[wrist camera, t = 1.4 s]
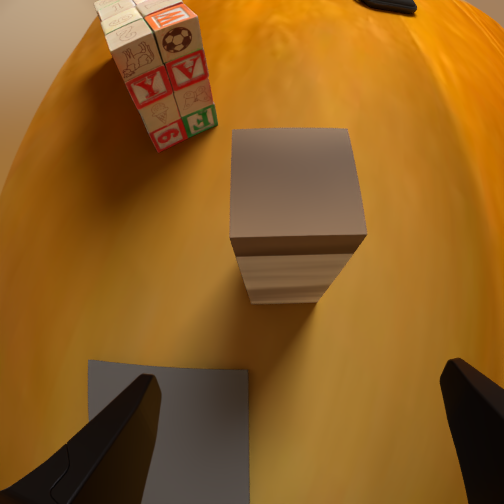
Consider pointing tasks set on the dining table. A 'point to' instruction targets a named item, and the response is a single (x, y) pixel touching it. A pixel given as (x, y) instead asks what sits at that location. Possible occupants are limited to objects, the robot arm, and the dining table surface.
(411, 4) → the carrying case or bag
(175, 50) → the stack of blocks
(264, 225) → the tall pale block
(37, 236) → the dining table surface
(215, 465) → the dark gray tapered panel
